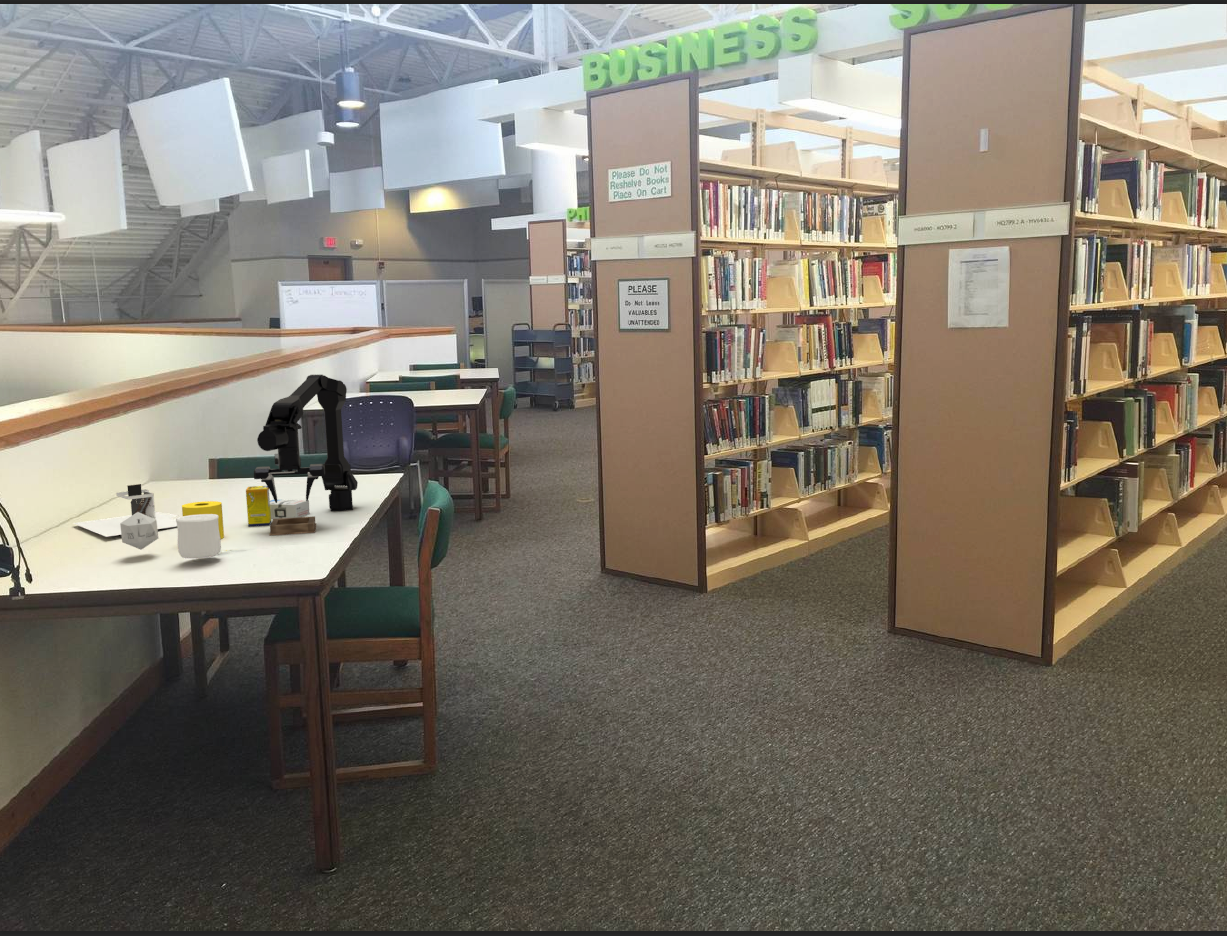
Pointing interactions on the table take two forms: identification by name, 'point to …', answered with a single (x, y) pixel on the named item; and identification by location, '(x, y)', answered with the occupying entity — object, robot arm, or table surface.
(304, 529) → the base
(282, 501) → the ink box
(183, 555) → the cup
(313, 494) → the table surface
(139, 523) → the die
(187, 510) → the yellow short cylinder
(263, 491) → the supplement box
